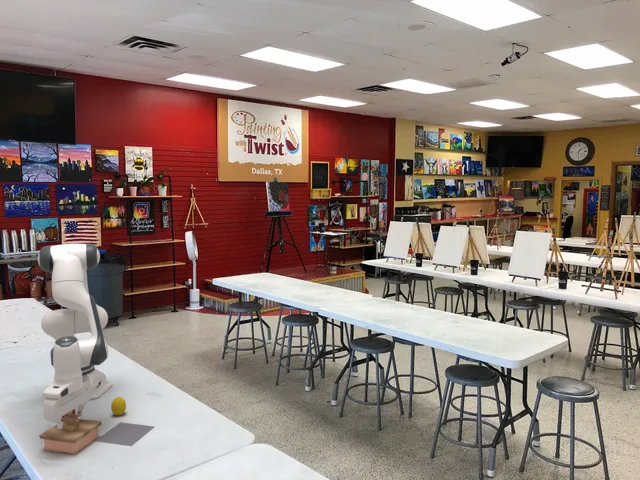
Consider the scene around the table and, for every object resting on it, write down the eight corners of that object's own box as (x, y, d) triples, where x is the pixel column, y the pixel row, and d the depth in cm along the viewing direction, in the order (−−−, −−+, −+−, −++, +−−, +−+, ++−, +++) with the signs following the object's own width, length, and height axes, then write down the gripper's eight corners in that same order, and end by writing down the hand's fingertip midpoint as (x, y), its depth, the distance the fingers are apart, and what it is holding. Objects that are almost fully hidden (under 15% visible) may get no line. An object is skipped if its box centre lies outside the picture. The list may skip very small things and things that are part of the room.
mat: (120, 423, 196) (120, 422, 196) (155, 427, 193) (155, 426, 193) (94, 442, 182) (94, 441, 182) (131, 447, 178) (131, 446, 178)
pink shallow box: (69, 435, 187) (69, 422, 187) (97, 438, 184) (97, 425, 184) (44, 451, 176) (44, 437, 175) (74, 455, 173) (73, 441, 172)
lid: (68, 420, 188) (68, 405, 187) (101, 424, 185) (100, 409, 184) (39, 438, 175) (38, 423, 174) (74, 443, 171) (73, 427, 171)
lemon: (111, 414, 204) (110, 395, 203) (126, 411, 206) (125, 392, 206) (111, 420, 199) (110, 400, 198) (126, 417, 201) (126, 398, 200)
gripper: (81, 372, 189) (83, 408, 190) (38, 394, 169) (41, 434, 170) (96, 374, 187) (98, 410, 188) (54, 396, 167) (57, 436, 169)
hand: (70, 421), depth 179 cm, fingers open, 8 cm apart
